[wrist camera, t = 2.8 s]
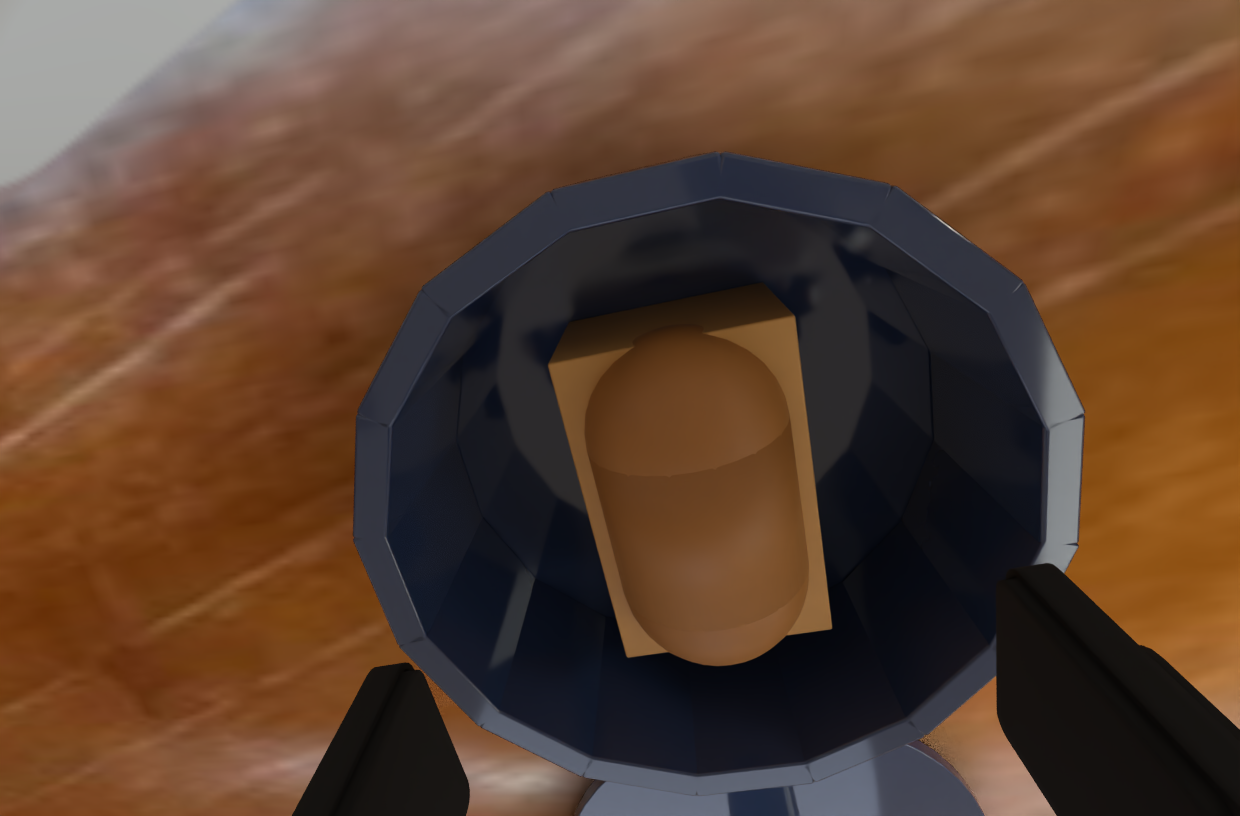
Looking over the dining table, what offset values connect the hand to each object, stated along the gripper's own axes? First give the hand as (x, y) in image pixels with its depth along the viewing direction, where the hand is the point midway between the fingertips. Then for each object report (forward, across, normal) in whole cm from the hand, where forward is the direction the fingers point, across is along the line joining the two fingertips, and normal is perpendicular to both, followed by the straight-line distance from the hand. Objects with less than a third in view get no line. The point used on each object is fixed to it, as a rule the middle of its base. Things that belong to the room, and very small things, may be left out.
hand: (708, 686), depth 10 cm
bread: (+9, 0, 0) cm, 9 cm away
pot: (+10, 0, 0) cm, 10 cm away
